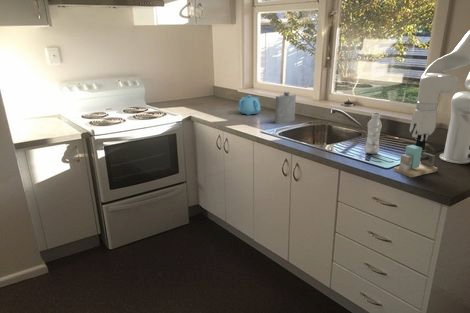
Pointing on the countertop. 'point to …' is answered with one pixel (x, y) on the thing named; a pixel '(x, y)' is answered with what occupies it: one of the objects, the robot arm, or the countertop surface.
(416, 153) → the sleeve
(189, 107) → the countertop surface
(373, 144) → the plastic bottle
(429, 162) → the cord board
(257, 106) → the decorative pot
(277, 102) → the hip flask
